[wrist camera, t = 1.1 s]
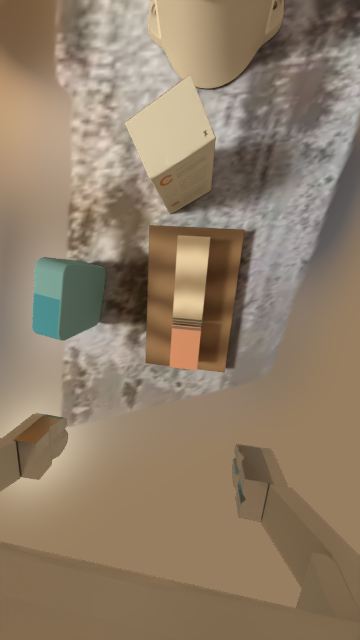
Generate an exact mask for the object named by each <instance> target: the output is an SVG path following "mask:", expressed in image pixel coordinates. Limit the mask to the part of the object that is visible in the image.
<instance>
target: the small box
mask: <svg viewBox="0 0 360 640" xmlns="http://www.w3.org/2000/svg"><path fill="white" fill-rule="evenodd" d="M125 123H126V127H127V129H128V131H129V133H130V136H131V138H132V140H133V142H134V145H135V147H136V149H137V151H138V154H139V156H140V158H141V160H142V163H143V165H144V167H145V169H146V172H147V174H148V176H149V178H150V180H151V181H152V183H153V185H154V187H155V188H156V190H157V192H158V194H159V196H160V197H161V199H162V201H163V203H164V205H165V206H166V208H167V210H168V212H169V213H170V214H172V213H174V212H175V211H177V210H179V209H181V208H182V207H184V206H186V205H187V204H189V203H191V202H192V201H194V200H196V199H198V198H199V197H201V196H203V195H204V194H206V193H208V192H209V191H211V184H212V174H213V162H214V151H215V140H216V136H215V134H214V132H213V129H212V127H211V125H210V122H209V120H208V117H207V115H206V113H205V110H204V107H203V105H202V102H201V100H200V97H199V95H198V92H197V90H196V87H195V85H194V82H193V80H192V77H191V75H188V76H187V77H186V78H184V79H183V80H182V81H180V82H179V83H178V84H176V85H175V86H174V87H172V88H171V89H169V90H168V91H167V92H165V93H164V94H163V95H161V96H160V97H159V98H157V99H156V100H155V101H153V102H152V103H151V104H149V105H148V106H147V107H145V108H144V109H143V110H141V111H140V112H139V113H137V114H136V115H134V116H133V117H132V118H130V119H129V120H128V121H126V122H125Z"/></svg>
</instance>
